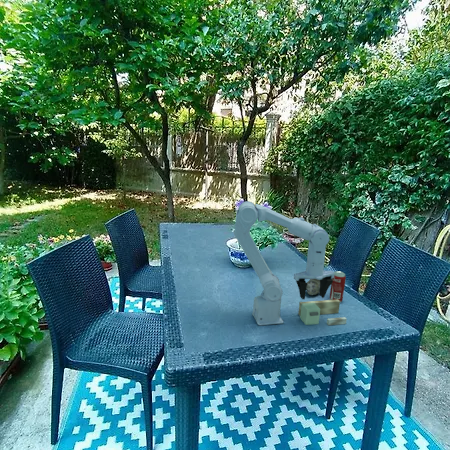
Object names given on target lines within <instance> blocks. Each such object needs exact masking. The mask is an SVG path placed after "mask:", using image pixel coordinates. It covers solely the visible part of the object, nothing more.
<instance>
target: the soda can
mask: <svg viewBox="0 0 450 450" xmlns="http://www.w3.org/2000/svg"><path fill="white" fill-rule="evenodd" d="M333 272H334V273H335V274H334V278H331V279H332V280H333V283H332V284H331V285H330V291H329V300H337V299H338V300H339V301H340V303H342V302H343V300H344V294H345V287H346V286H345V285H346V277H347V276H346V273H344V272H343V271H338V270H337V271H333Z"/></svg>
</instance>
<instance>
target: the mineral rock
mask: <svg viewBox="0 0 450 450" xmlns="http://www.w3.org/2000/svg"><path fill="white" fill-rule="evenodd" d="M306 283H307V284H308V285H307V288H306V293H307V295H309V296H315V295H318V294H320V280H317V279H308V281H306Z"/></svg>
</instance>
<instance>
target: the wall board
mask: <svg viewBox="0 0 450 450" xmlns="http://www.w3.org/2000/svg"><path fill="white" fill-rule="evenodd" d="M303 303H315V304H316V305H317V306H318V307H319V308H320V316H321V315H331V314H334V315H335V314H339V311H340V305H341V304H340V303H341V302H340V301H339V300H338V299H337V300H330V299H327V300H323V299H322V300H313V301H312V300H311V301H309V300H308V301H299V304H298V313H297V314H298V316H299V317H300V315H301V305H302V304H303ZM346 324H347V317H345V316H342V317H331V318H327V319H326V325H327V326H338V325H346Z"/></svg>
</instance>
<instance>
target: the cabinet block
mask: <svg viewBox="0 0 450 450" xmlns="http://www.w3.org/2000/svg"><path fill="white" fill-rule="evenodd" d="M320 317H321V315H320V308H319V307H318V306H317V305H316V304H315V303H303V304H302V305H301V315H300V316H299V318H300V320H301V322H303V324H304V325H305V326H312V325H319V323H320Z"/></svg>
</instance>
